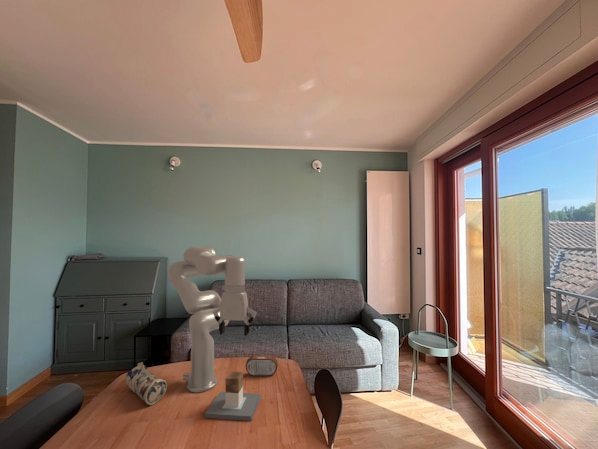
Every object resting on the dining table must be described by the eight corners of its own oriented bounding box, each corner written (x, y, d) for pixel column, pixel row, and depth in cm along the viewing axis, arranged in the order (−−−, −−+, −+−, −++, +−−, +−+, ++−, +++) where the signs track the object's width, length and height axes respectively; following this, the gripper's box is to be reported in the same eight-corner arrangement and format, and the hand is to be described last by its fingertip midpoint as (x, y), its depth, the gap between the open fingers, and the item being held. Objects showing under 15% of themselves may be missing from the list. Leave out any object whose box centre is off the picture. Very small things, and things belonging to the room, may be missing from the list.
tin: (278, 373, 120) (278, 355, 121) (277, 376, 117) (277, 358, 118) (246, 373, 121) (246, 355, 121) (244, 376, 118) (245, 358, 118)
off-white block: (225, 406, 94) (225, 392, 94) (230, 398, 99) (230, 384, 99) (238, 407, 94) (238, 393, 94) (242, 398, 99) (242, 385, 99)
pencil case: (124, 390, 108) (124, 366, 108) (145, 381, 114) (146, 359, 115) (145, 411, 94) (146, 384, 95) (168, 400, 101) (169, 374, 102)
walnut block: (225, 392, 94) (225, 378, 95) (230, 384, 99) (230, 371, 100) (238, 393, 94) (238, 379, 94) (243, 385, 99) (243, 372, 99)
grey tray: (204, 417, 91) (204, 412, 91) (220, 395, 104) (220, 391, 104) (251, 420, 89) (251, 415, 89) (260, 397, 102) (260, 393, 102)
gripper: (209, 290, 96) (208, 336, 95) (253, 291, 94) (253, 338, 93) (217, 286, 103) (216, 329, 103) (259, 287, 102) (258, 331, 101)
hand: (234, 333), depth 98 cm, fingers open, 9 cm apart
